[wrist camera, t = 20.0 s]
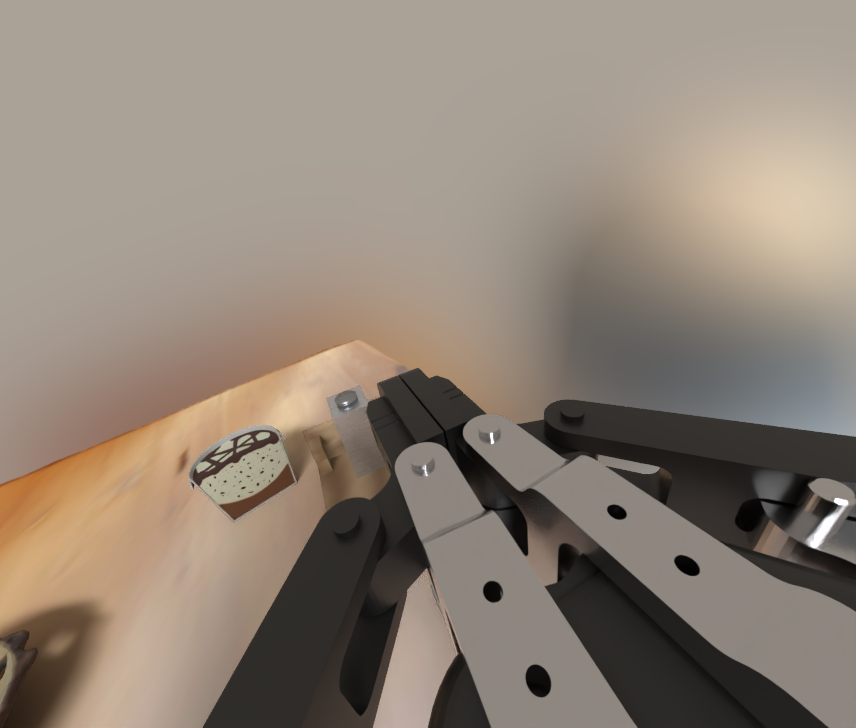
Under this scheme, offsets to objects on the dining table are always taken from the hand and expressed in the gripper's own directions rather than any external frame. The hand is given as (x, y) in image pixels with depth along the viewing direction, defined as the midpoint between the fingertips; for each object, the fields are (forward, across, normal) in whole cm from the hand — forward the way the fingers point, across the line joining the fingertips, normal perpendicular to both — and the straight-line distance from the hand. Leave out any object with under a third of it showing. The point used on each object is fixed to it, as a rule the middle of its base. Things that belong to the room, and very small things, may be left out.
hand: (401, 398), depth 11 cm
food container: (+35, +17, +30) cm, 50 cm away
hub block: (+30, +1, +28) cm, 42 cm away
